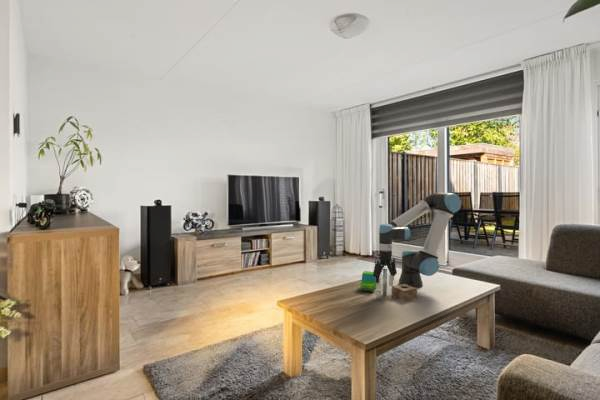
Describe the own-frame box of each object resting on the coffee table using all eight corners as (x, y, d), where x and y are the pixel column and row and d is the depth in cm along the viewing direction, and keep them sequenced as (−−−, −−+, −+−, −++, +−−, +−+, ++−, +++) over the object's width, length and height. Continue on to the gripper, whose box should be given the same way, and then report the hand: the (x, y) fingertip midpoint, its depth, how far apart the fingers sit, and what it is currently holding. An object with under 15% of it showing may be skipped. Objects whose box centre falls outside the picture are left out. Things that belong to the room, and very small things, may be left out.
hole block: (391, 295, 203) (392, 286, 202) (404, 293, 207) (404, 283, 207) (403, 301, 194) (404, 290, 193) (416, 298, 198) (417, 288, 198)
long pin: (381, 294, 204) (382, 268, 204) (384, 294, 205) (385, 268, 205) (384, 296, 202) (384, 269, 201) (387, 295, 203) (387, 269, 202)
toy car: (358, 291, 210) (358, 275, 210) (362, 285, 223) (362, 270, 222) (374, 293, 206) (374, 277, 206) (378, 287, 219) (378, 272, 218)
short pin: (375, 299, 196) (375, 291, 196) (378, 299, 197) (378, 290, 197) (378, 301, 194) (378, 292, 193) (381, 300, 195) (381, 291, 195)
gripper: (375, 252, 194) (374, 291, 195) (403, 249, 204) (402, 286, 205) (366, 250, 201) (366, 287, 202) (394, 247, 211) (394, 283, 212)
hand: (384, 286), depth 204 cm, fingers open, 9 cm apart
